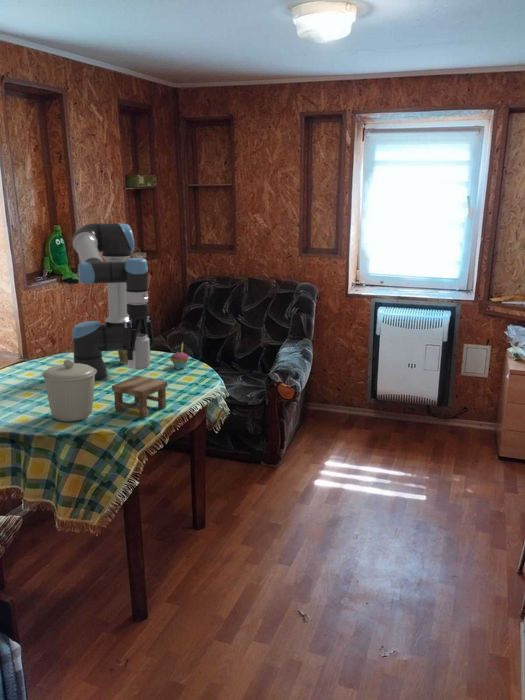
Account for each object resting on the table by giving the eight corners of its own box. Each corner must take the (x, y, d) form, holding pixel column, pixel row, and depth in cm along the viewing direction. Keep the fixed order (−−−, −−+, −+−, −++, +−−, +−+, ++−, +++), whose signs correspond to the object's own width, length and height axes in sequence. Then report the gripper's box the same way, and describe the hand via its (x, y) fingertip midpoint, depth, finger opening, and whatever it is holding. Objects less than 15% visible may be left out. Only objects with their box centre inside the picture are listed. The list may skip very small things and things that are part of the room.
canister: (37, 426, 195) (33, 366, 190) (53, 407, 213) (49, 352, 208) (92, 426, 196) (89, 366, 191) (103, 407, 214) (101, 352, 209)
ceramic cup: (127, 366, 266) (126, 345, 264) (111, 362, 272) (111, 341, 269) (147, 360, 277) (146, 339, 274) (132, 356, 282) (131, 336, 280)
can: (153, 365, 211) (153, 333, 208) (143, 371, 204) (142, 338, 201) (135, 363, 214) (134, 331, 211) (124, 368, 207) (123, 335, 204)
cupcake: (179, 364, 272) (179, 339, 269) (193, 367, 267) (193, 342, 264) (166, 367, 265) (166, 342, 262) (180, 371, 261) (179, 345, 258)
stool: (113, 411, 210) (112, 385, 208) (137, 400, 222) (137, 375, 220) (144, 419, 204) (143, 392, 202) (167, 407, 216) (167, 381, 214)
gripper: (126, 308, 193) (129, 374, 198) (163, 300, 210) (164, 360, 216) (109, 306, 196) (112, 370, 202) (147, 298, 213) (148, 357, 219)
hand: (139, 365), depth 209 cm, fingers closed on can, 7 cm apart
